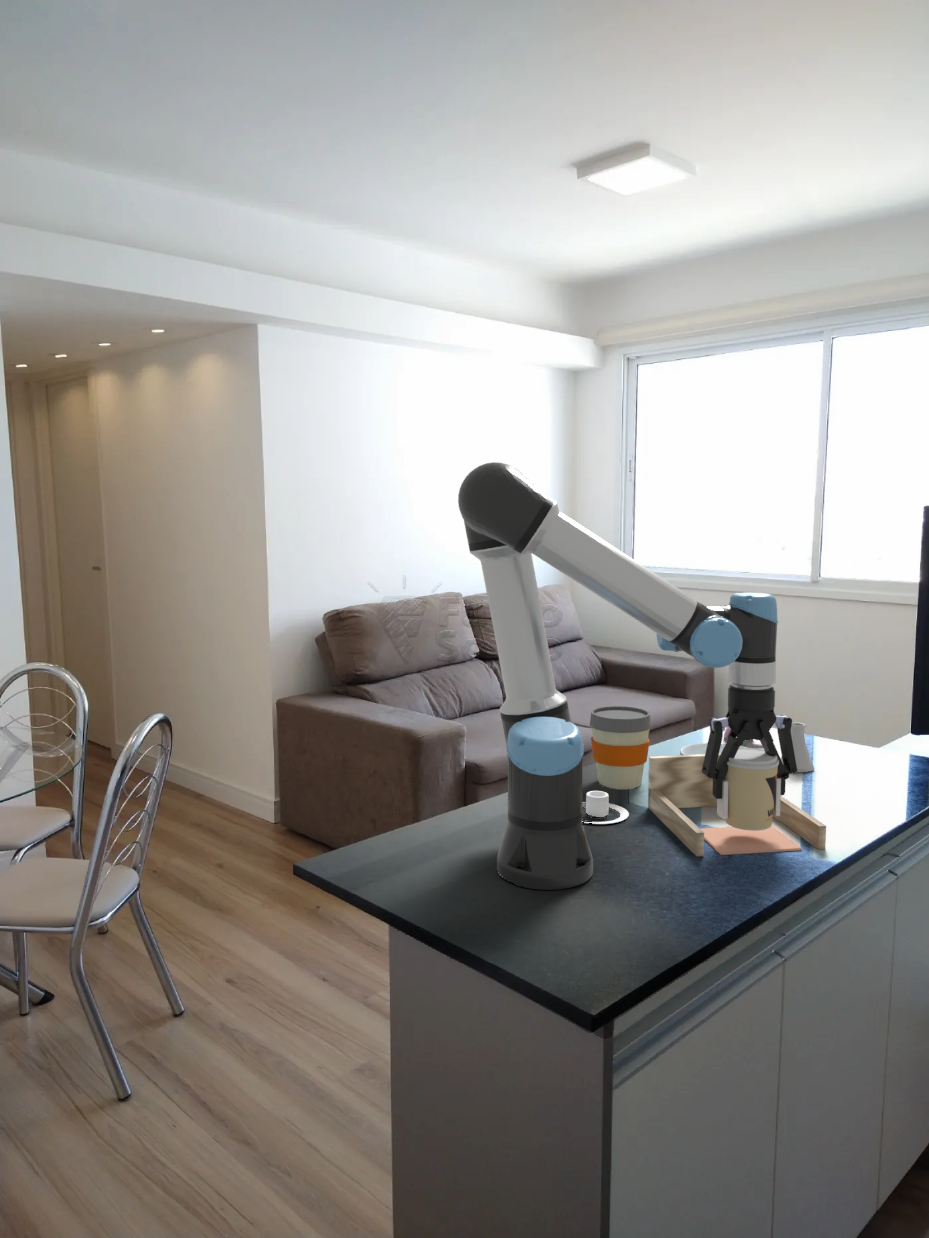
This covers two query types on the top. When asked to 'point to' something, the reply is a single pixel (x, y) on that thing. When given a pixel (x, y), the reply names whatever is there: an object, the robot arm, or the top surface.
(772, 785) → the coffee cup
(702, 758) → the bay
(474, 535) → the robot arm
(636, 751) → the reusable coffee cup
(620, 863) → the top surface
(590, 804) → the candle holder
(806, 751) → the flask
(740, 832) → the front mat
